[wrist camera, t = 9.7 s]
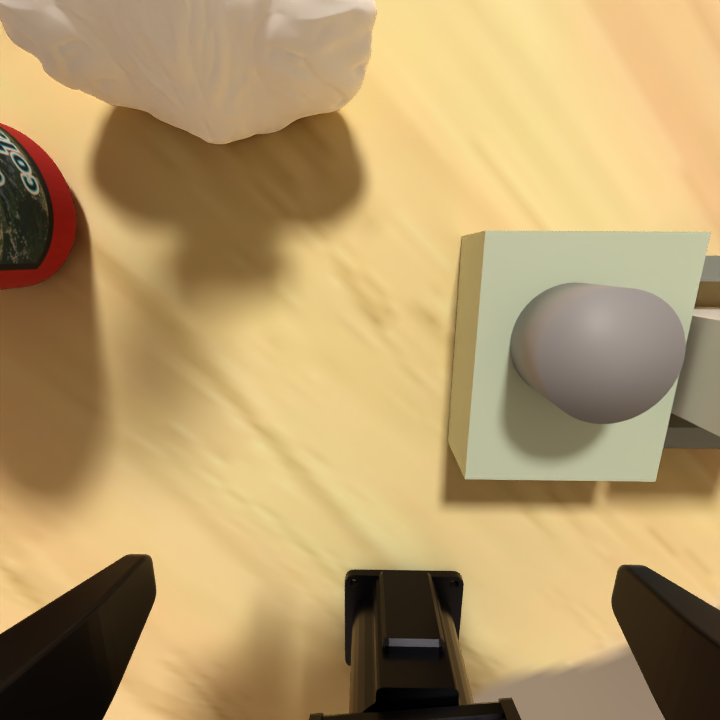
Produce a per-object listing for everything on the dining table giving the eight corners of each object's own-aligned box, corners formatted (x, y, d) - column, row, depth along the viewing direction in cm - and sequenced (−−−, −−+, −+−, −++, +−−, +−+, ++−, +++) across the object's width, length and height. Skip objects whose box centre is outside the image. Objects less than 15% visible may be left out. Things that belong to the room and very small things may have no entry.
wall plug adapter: (724, 444, 20) (886, 528, 14) (447, 441, 20) (484, 522, 14) (779, 237, 17) (1008, 226, 11) (462, 236, 17) (514, 223, 11)
